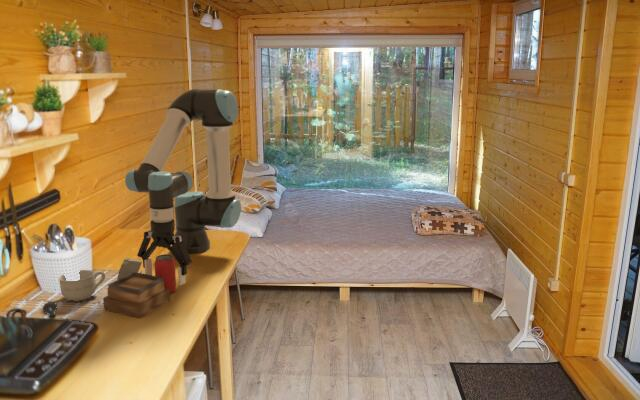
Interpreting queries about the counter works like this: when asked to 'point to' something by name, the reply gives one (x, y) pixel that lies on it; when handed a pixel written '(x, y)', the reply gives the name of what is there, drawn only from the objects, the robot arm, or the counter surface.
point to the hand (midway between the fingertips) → (165, 280)
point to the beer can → (166, 271)
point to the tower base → (137, 307)
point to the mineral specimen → (129, 267)
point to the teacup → (80, 285)
